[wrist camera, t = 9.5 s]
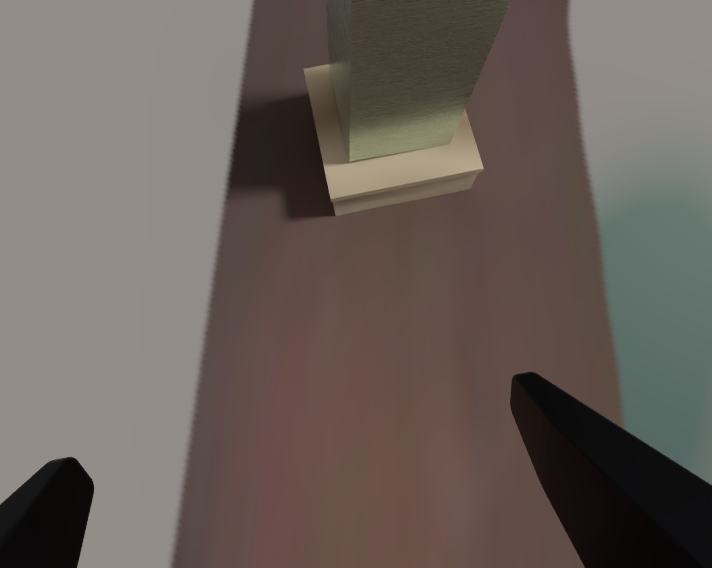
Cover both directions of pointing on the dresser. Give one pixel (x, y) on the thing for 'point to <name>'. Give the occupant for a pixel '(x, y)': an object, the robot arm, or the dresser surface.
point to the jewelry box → (386, 160)
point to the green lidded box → (406, 68)
